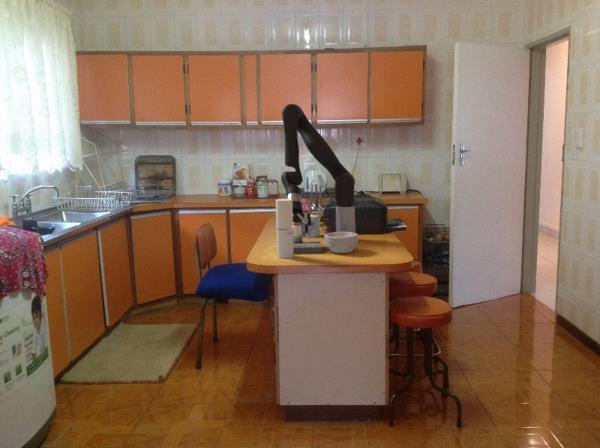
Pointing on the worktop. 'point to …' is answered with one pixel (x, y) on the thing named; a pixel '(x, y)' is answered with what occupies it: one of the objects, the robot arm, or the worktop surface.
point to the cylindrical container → (284, 228)
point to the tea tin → (297, 232)
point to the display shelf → (308, 247)
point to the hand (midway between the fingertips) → (296, 232)
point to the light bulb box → (312, 226)
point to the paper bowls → (341, 241)
